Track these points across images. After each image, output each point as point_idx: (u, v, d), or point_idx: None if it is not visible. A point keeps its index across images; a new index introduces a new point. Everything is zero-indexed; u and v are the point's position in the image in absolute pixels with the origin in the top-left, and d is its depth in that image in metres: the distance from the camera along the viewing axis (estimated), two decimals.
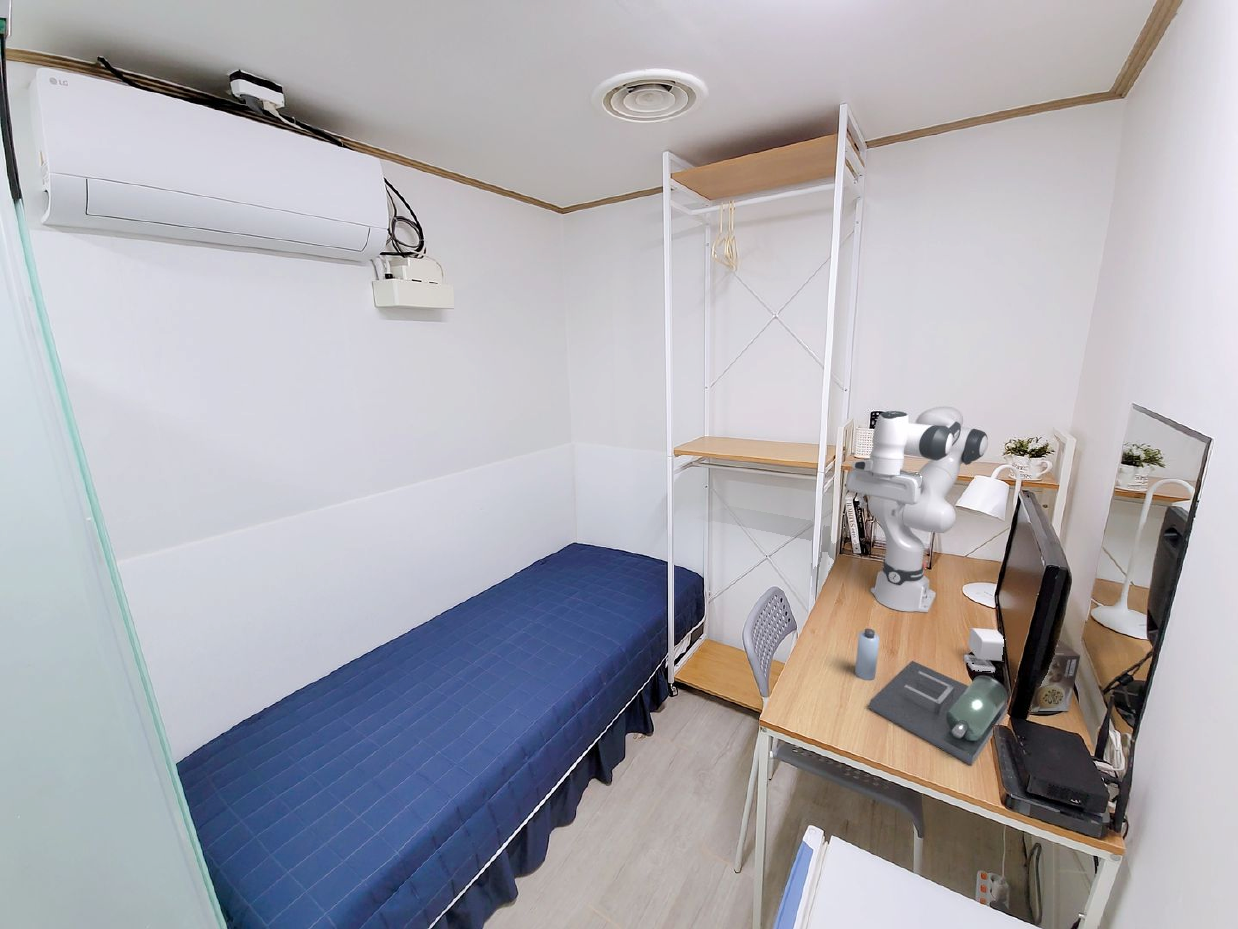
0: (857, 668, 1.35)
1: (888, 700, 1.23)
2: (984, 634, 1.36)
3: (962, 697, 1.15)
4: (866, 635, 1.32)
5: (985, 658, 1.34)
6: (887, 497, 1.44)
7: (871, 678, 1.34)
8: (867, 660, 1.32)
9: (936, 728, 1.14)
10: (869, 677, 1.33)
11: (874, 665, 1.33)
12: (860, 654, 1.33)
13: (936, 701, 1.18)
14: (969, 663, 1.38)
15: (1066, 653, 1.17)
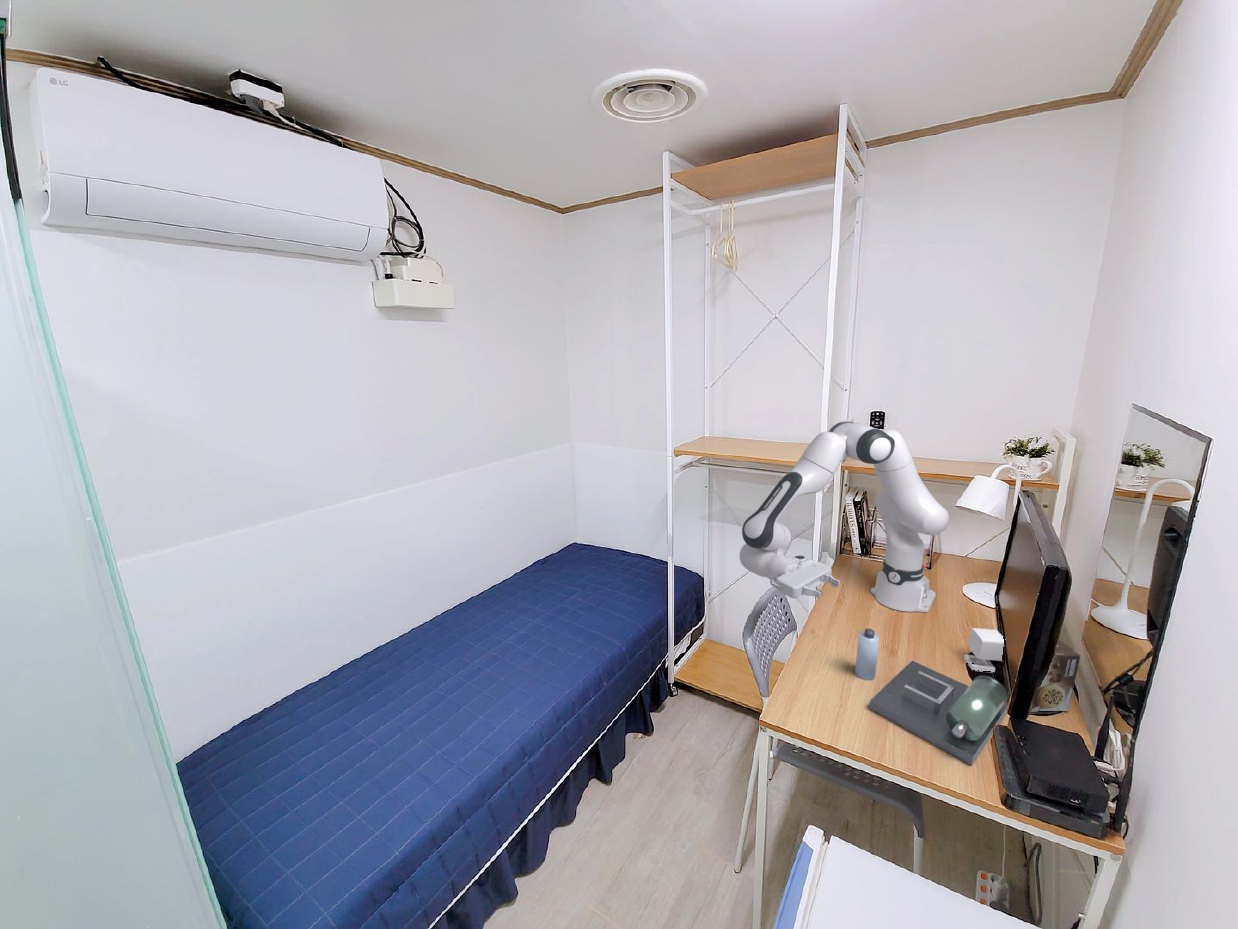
0: (857, 668, 1.35)
1: (888, 700, 1.23)
2: (984, 634, 1.36)
3: (962, 697, 1.15)
4: (866, 635, 1.32)
5: (985, 658, 1.34)
6: None
7: (871, 678, 1.34)
8: (867, 660, 1.32)
9: (936, 728, 1.14)
10: (869, 677, 1.33)
11: (874, 665, 1.33)
12: (860, 654, 1.33)
13: (936, 701, 1.18)
14: (969, 663, 1.38)
15: (1066, 653, 1.17)
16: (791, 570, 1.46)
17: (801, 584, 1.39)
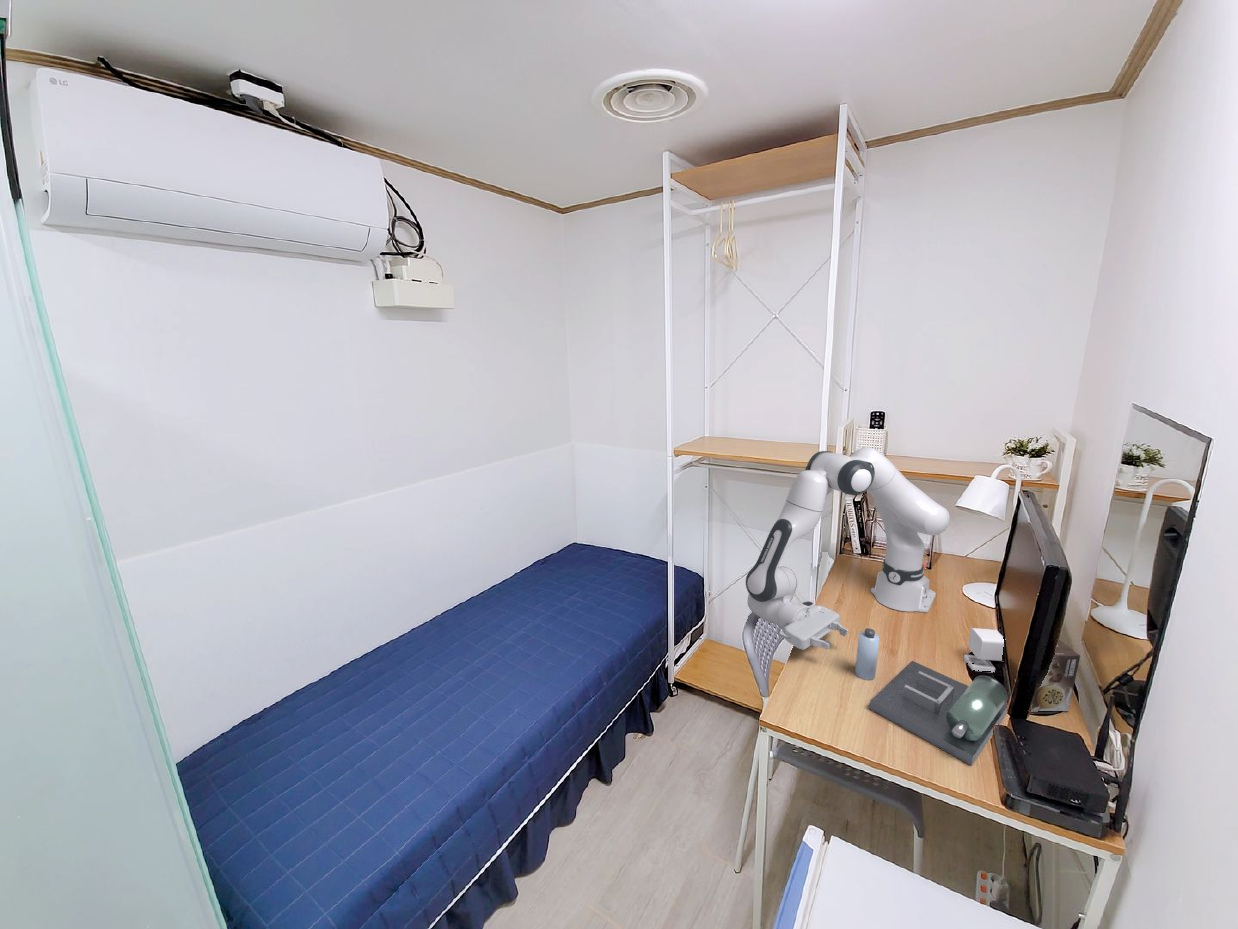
0: (857, 668, 1.35)
1: (888, 700, 1.23)
2: (984, 634, 1.36)
3: (962, 697, 1.15)
4: (866, 635, 1.32)
5: (985, 658, 1.34)
6: None
7: (871, 678, 1.34)
8: (867, 659, 1.32)
9: (936, 728, 1.14)
10: (869, 677, 1.33)
11: (874, 665, 1.33)
12: (860, 654, 1.34)
13: (936, 701, 1.18)
14: (969, 663, 1.38)
15: (1066, 653, 1.17)
16: (799, 618, 1.48)
17: (809, 635, 1.40)
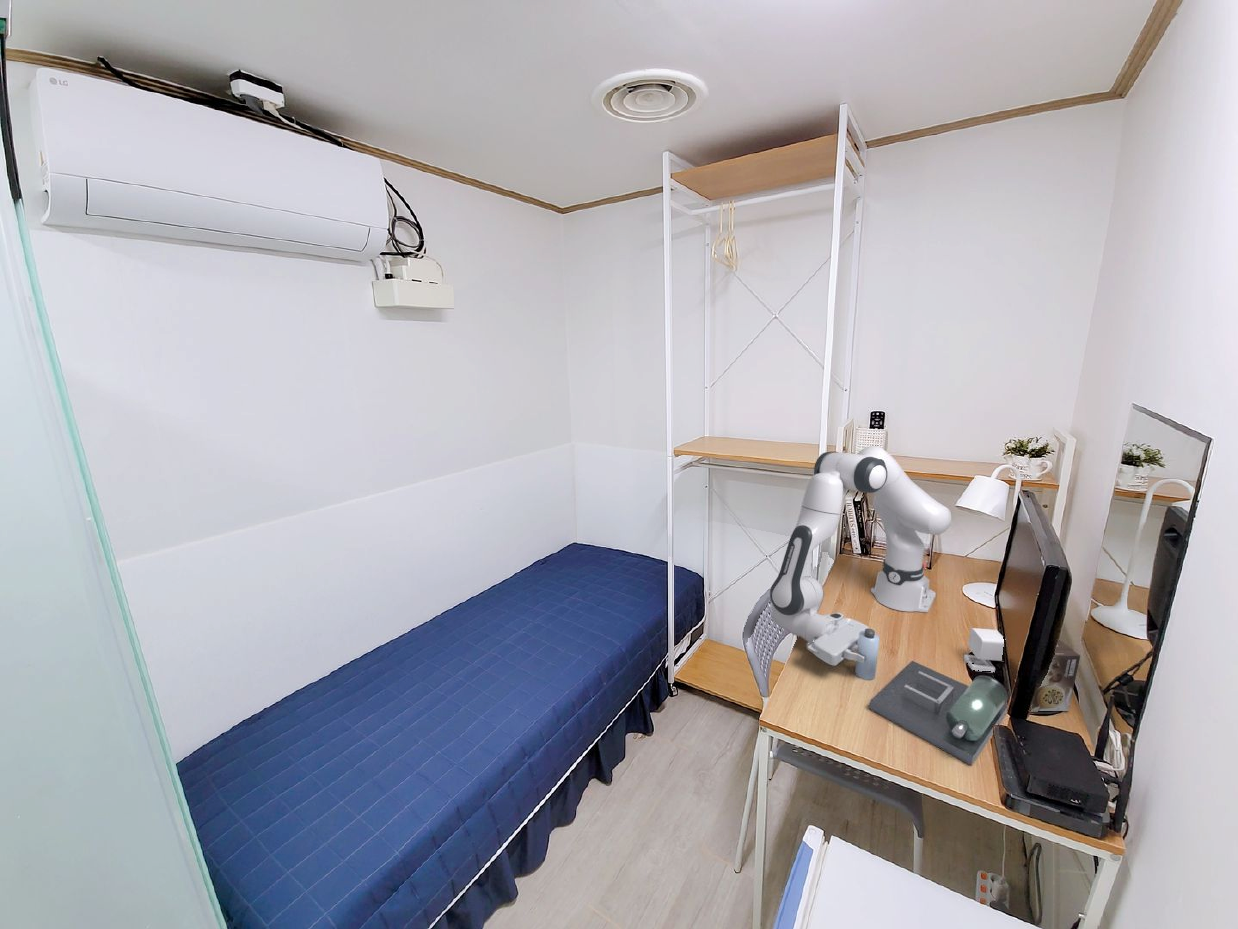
0: (857, 668, 1.35)
1: (888, 700, 1.23)
2: (984, 634, 1.36)
3: (962, 697, 1.15)
4: (866, 635, 1.32)
5: (985, 658, 1.34)
6: None
7: (871, 678, 1.34)
8: (867, 660, 1.32)
9: (936, 728, 1.14)
10: (869, 677, 1.33)
11: (874, 665, 1.33)
12: None
13: (936, 701, 1.18)
14: (969, 663, 1.38)
15: (1066, 653, 1.17)
16: (828, 632, 1.41)
17: (840, 650, 1.33)
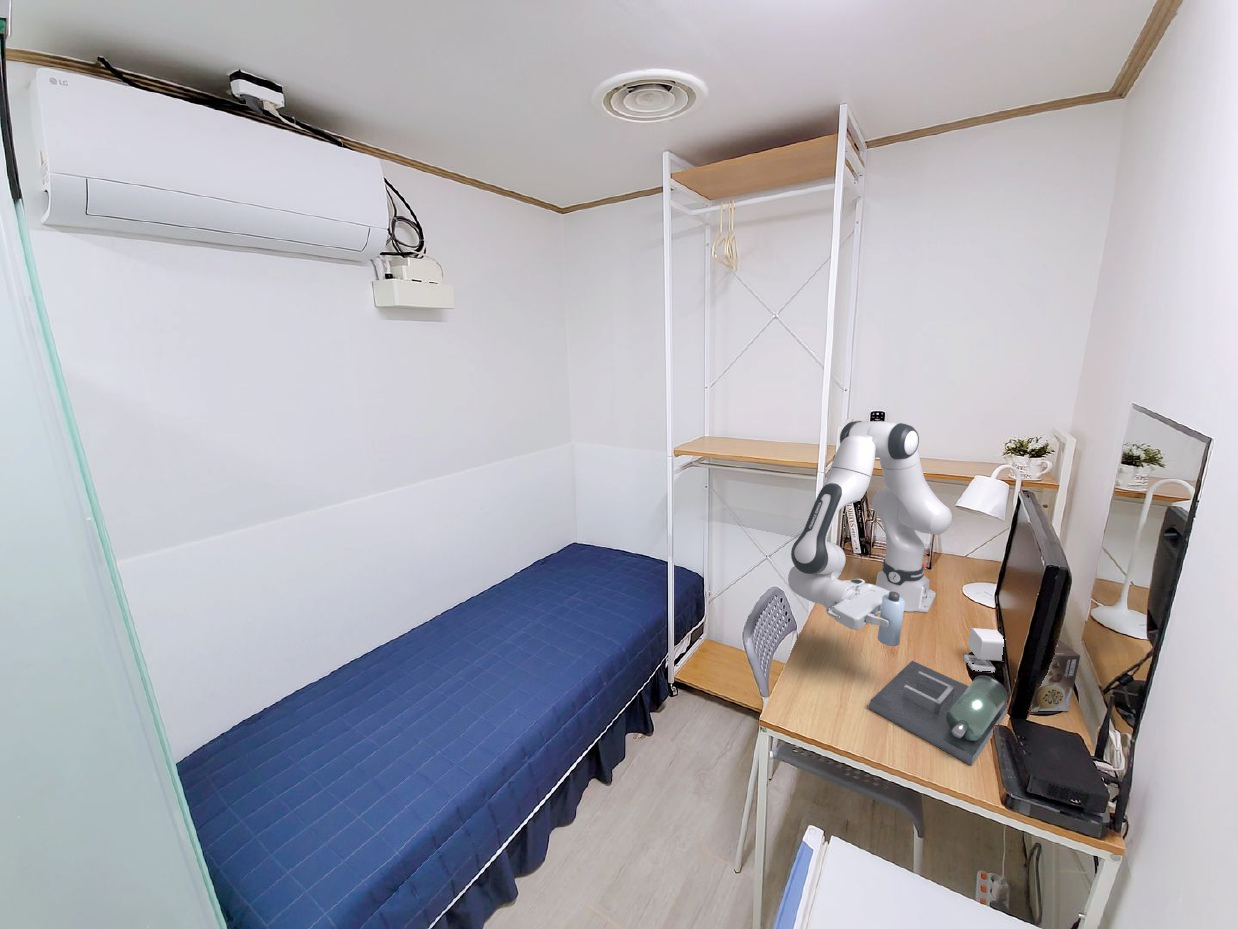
0: (881, 634, 1.28)
1: (888, 700, 1.23)
2: (984, 634, 1.36)
3: (962, 697, 1.15)
4: (891, 598, 1.25)
5: (985, 658, 1.34)
6: None
7: (895, 644, 1.26)
8: (891, 624, 1.25)
9: (936, 728, 1.14)
10: (893, 643, 1.26)
11: (899, 630, 1.26)
12: None
13: (936, 701, 1.18)
14: (969, 663, 1.38)
15: (1066, 653, 1.17)
16: (849, 597, 1.33)
17: (863, 614, 1.26)
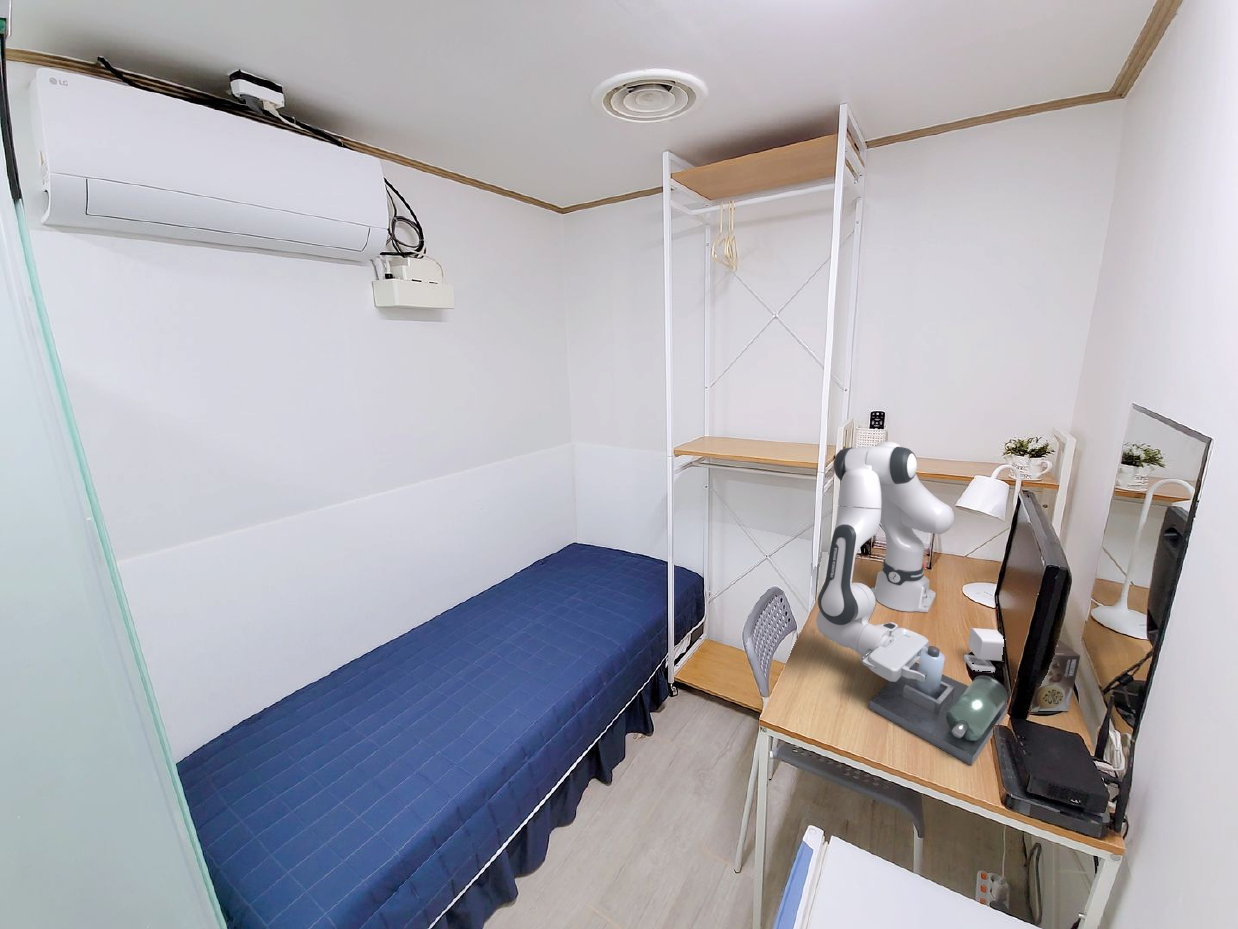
0: (918, 689, 1.23)
1: (888, 700, 1.23)
2: (984, 634, 1.36)
3: (962, 697, 1.15)
4: (930, 653, 1.20)
5: (985, 658, 1.34)
6: None
7: None
8: (930, 680, 1.20)
9: (936, 728, 1.14)
10: None
11: (938, 686, 1.21)
12: None
13: (936, 701, 1.18)
14: (969, 663, 1.38)
15: (1066, 653, 1.17)
16: (883, 644, 1.28)
17: (900, 664, 1.21)
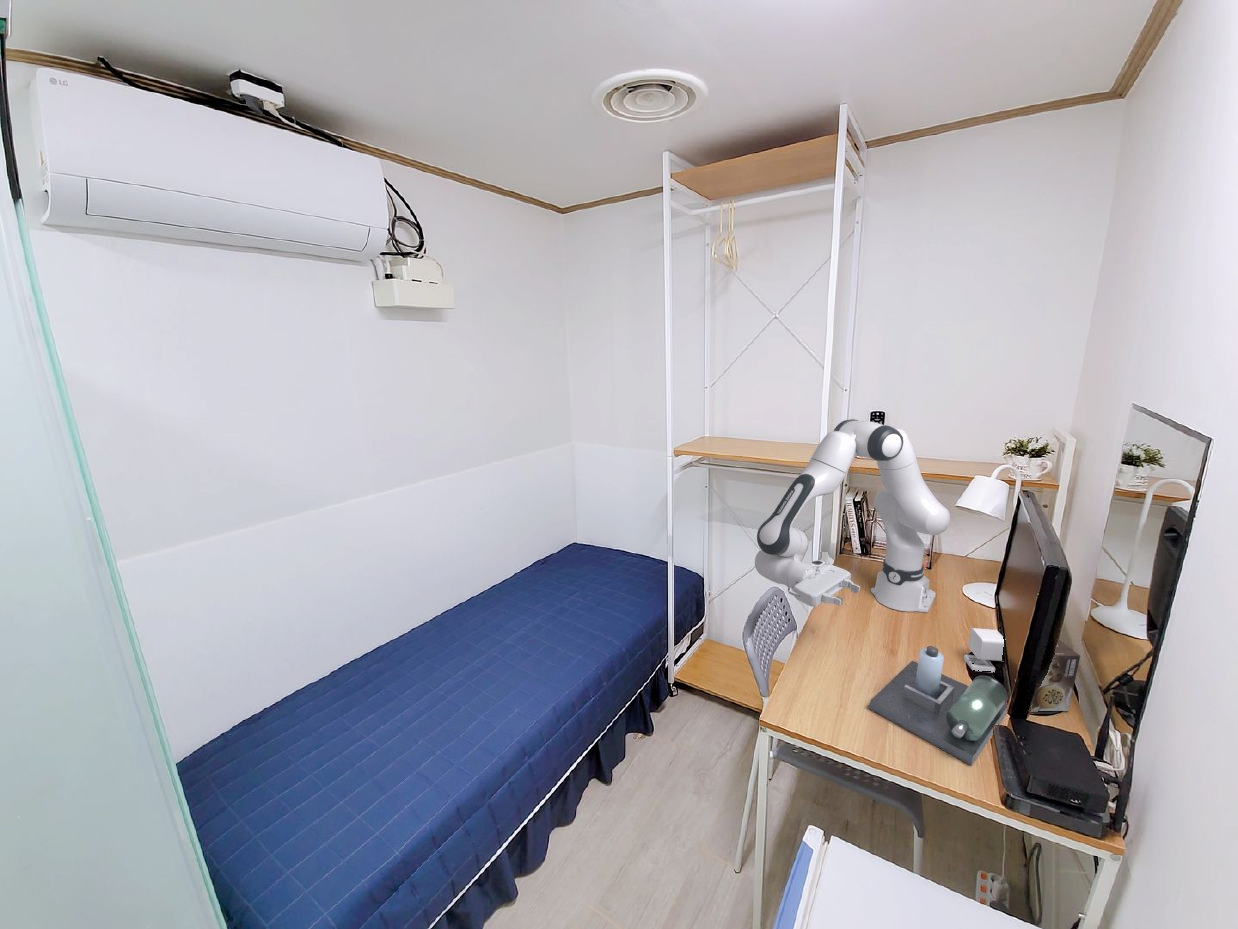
0: (918, 690, 1.23)
1: (888, 700, 1.23)
2: (984, 634, 1.36)
3: (962, 697, 1.15)
4: (929, 653, 1.20)
5: (985, 658, 1.34)
6: None
7: None
8: (929, 680, 1.20)
9: (936, 728, 1.14)
10: None
11: (937, 686, 1.21)
12: (921, 674, 1.21)
13: (936, 701, 1.18)
14: (969, 663, 1.38)
15: (1066, 653, 1.17)
16: (809, 576, 1.42)
17: (820, 591, 1.35)
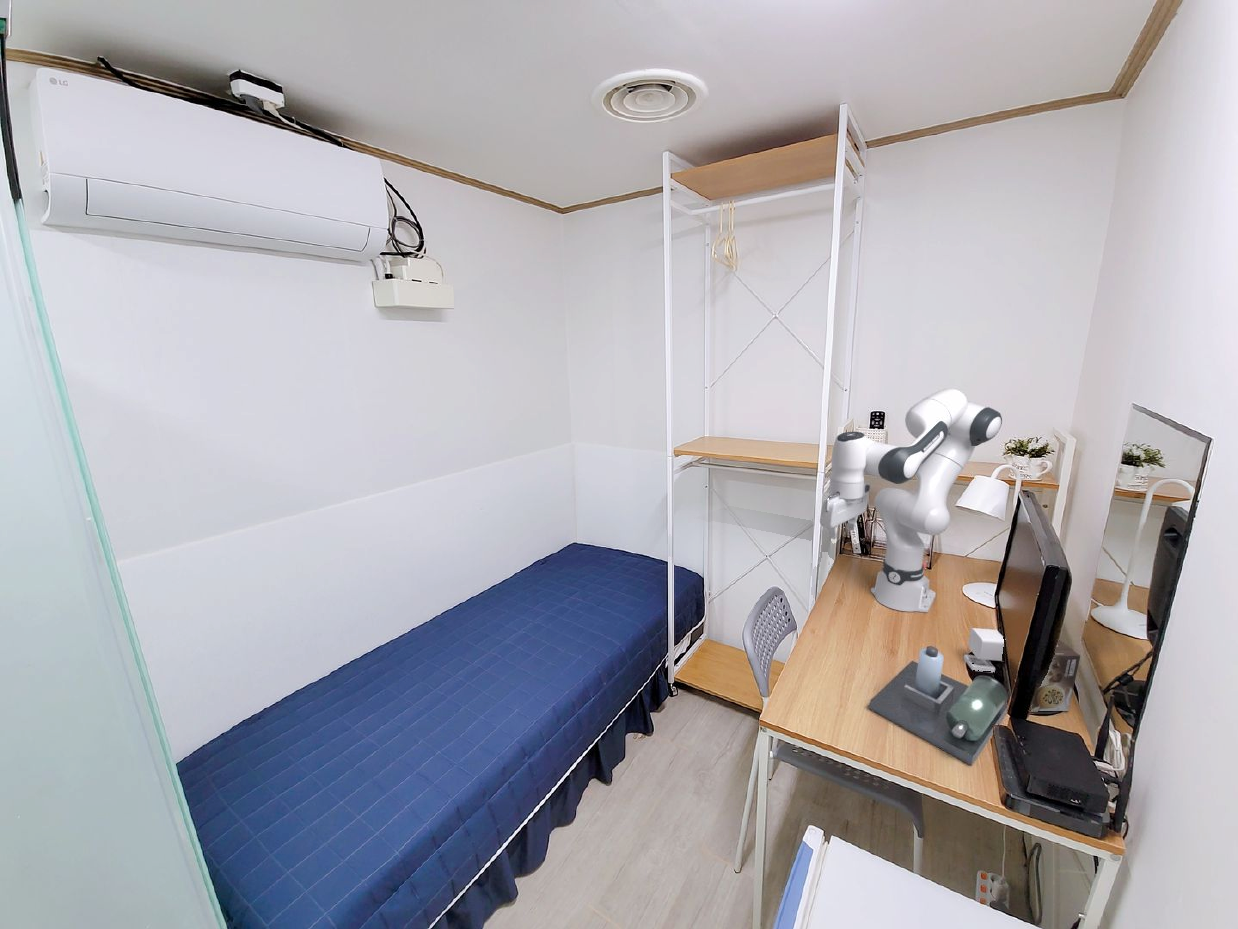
0: (918, 690, 1.23)
1: (888, 700, 1.23)
2: (984, 634, 1.36)
3: (962, 697, 1.15)
4: (928, 653, 1.20)
5: (985, 658, 1.34)
6: None
7: None
8: (929, 680, 1.20)
9: (936, 728, 1.14)
10: None
11: (937, 686, 1.21)
12: (921, 675, 1.21)
13: (936, 701, 1.18)
14: (969, 663, 1.38)
15: (1066, 653, 1.17)
16: (849, 500, 1.39)
17: (837, 525, 1.38)
